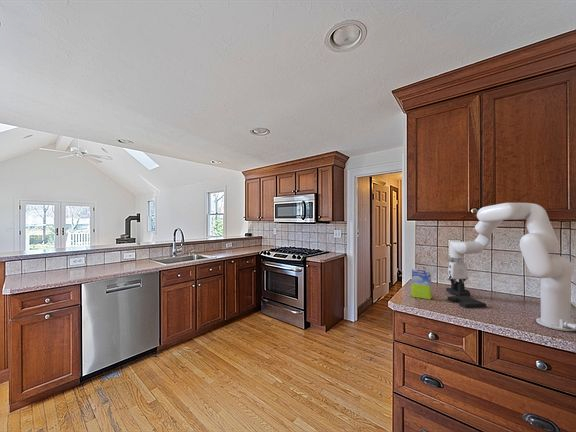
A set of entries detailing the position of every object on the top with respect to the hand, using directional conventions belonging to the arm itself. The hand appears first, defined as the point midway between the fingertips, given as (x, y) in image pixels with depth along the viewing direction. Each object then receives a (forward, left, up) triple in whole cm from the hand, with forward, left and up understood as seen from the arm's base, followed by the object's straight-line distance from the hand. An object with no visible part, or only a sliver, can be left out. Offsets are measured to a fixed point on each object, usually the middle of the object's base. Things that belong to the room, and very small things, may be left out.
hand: (457, 289), depth 163 cm
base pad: (-16, +7, -4) cm, 17 cm away
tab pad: (0, -1, -3) cm, 3 cm away
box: (-3, +26, -4) cm, 27 cm away
